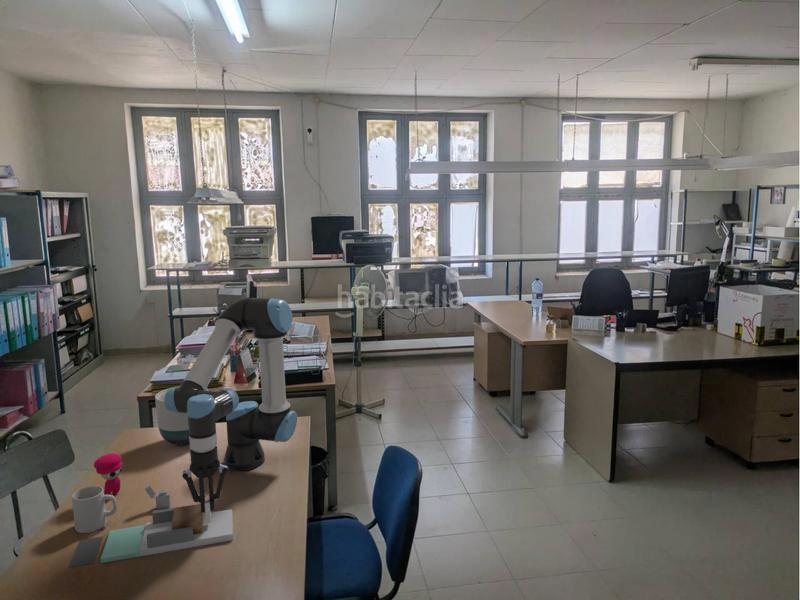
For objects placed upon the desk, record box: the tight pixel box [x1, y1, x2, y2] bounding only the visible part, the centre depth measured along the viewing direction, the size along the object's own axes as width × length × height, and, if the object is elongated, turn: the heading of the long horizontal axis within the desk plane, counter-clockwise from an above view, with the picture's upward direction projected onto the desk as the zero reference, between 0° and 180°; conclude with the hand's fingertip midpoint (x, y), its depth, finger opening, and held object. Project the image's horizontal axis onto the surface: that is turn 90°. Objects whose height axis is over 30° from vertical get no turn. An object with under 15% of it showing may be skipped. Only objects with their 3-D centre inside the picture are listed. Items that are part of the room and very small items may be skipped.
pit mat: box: [67, 536, 104, 569], centre depth 155 cm, size 6×13×1 cm, turn 18°
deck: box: [139, 505, 234, 557], centre depth 163 cm, size 25×14×6 cm, turn 108°
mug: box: [71, 485, 118, 534], centre depth 168 cm, size 12×8×11 cm
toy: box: [93, 452, 123, 496], centre depth 183 cm, size 8×8×15 cm
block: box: [172, 503, 204, 535], centre depth 163 cm, size 8×8×5 cm
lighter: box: [144, 484, 171, 510], centre depth 178 cm, size 7×2×8 cm, turn 106°
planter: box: [154, 385, 209, 447], centre depth 226 cm, size 20×20×21 cm
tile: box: [100, 524, 146, 564], centre depth 158 cm, size 10×14×1 cm
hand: (208, 520), depth 165 cm, fingers closed
